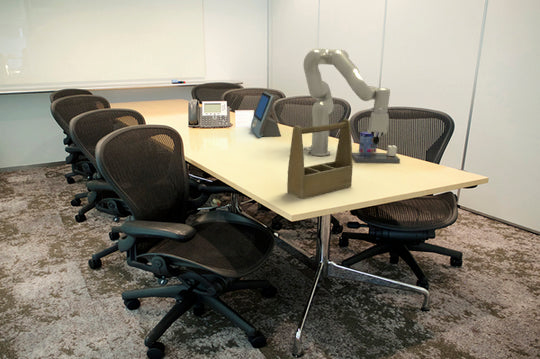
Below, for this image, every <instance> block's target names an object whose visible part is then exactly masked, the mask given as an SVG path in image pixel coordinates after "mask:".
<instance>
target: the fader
mask: <svg viewBox="0 0 540 359" xmlns="http://www.w3.org/2000/svg"><path fill="white" fill-rule="evenodd" d="M397 149H398V147H397V146H396V145H392V144H391V145H387V149H386V153H387V155H388V156H397Z"/></svg>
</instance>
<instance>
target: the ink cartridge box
mask: <svg viewBox="0 0 540 359" xmlns="http://www.w3.org/2000/svg"><path fill="white" fill-rule="evenodd" d="M377 134H378V132H376V136H377ZM359 135H360V136H359V144H358V145H359V147H358V153H377V145H378V144H374V142H373V137H374V136H373V135H372V134H370V133H368V132H367V131H362V132H360V134H359Z"/></svg>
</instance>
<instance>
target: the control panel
mask: <svg viewBox="0 0 540 359" xmlns="http://www.w3.org/2000/svg"><path fill="white" fill-rule="evenodd" d="M352 161H354V162H355V164H400V162H401V158H399V157H398V156H397V155H396V156H388V155H387V152H371V153H362V152H352Z"/></svg>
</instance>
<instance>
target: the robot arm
mask: <svg viewBox="0 0 540 359" xmlns="http://www.w3.org/2000/svg"><path fill="white" fill-rule="evenodd" d="M302 65H303V70H304V71H303V72H304V75H305V78H306V79H305V80H306V83H307V88H308V93H309V95H310V97H312V98H313V99H315V100H316V102H314V104H313V106H312V108H311V118H312V126H322V125H329V124H330V120H329V118H330V117H329V115H331V113H333V111H334V108H335V106H334V101H333V97H332V91H331V87H330V86H329V84H328V83H327V82H326V81H324V80H323V78H322V74H321V71H320V69H319V65H332V66H333V67H334V68H335V69H336V70H337V71H338V72H339V73H340V75H342V77H343V78H344V79H345V81H346V82H347V84H348V85H349V87H350V89H352V91H353V93H355V95H356V96H357V97H358V98H359V99H360V100H361V101H363V102H369V101H372V100H374V101H373V102H374V103H373V107H371V108H370V112H371V114H370V117H369V119H368V120H369V121H368V126H367V131H366V132H368V133H370V134H372V135H373V136H374V137H373V142H374V144H377V145H379V142H380V138H381V137H382V136H383V135H386V134H388V131H389V120H390V119H389V118H390V117H389V113H388V108H389V102H390V96H391V89H390V88H387V87H377V86H371V85H368V84H367V83H366V81H364V80H363V78H362V76H361V75H360V71H359V68H358V66H356V64H355V63H354V62H353V61H352V60H351V59H350V58H349V53H348V52H347V51H346V50H344V49H331V48H330V49H328V48H314V49H312V50H310V51H308V53H307V54H306V55H305V57H304V59H303V64H302ZM312 126H311V127H312ZM329 131H330V130H328V131H321V132H315V133H311V145H310V146H308V147H307V146H303V151H307V152H308V154H309V155H310V156H313V157H326V156H327V157H328V156H330V155H331V151H329V150H328V149H329V133H330V132H329ZM376 132H377V133H378V134H377V136H376Z"/></svg>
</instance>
